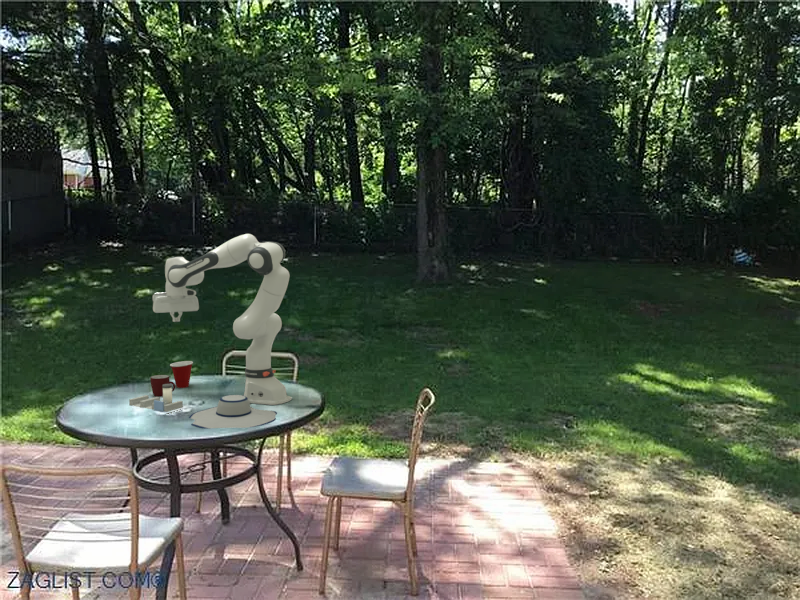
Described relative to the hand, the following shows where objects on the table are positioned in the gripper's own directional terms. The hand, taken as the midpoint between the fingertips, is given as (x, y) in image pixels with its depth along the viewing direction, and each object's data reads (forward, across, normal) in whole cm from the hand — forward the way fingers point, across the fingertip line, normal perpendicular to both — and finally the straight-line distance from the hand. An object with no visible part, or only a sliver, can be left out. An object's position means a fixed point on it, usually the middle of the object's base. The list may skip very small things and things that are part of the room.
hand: (176, 321), depth 321 cm
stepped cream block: (+34, -15, -24) cm, 44 cm away
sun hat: (+35, +10, -52) cm, 64 cm away
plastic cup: (+34, +6, +15) cm, 38 cm away
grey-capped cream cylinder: (+33, -12, -30) cm, 46 cm away
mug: (+34, -8, -4) cm, 35 cm away
